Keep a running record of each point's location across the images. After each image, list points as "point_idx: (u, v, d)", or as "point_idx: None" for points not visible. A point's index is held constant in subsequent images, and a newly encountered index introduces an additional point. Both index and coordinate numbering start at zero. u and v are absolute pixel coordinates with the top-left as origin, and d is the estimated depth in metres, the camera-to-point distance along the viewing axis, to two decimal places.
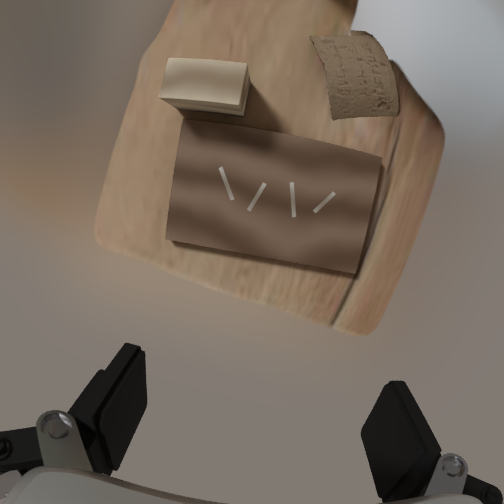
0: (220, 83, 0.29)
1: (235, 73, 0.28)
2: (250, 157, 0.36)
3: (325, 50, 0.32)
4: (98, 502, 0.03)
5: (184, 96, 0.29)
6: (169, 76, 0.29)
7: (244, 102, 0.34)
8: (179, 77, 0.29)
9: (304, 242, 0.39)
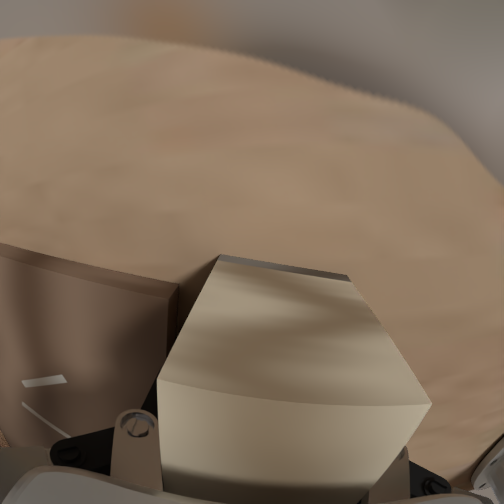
0: None
1: None
2: None
3: None
4: (98, 502, 0.03)
5: (177, 472, 0.05)
6: (306, 428, 0.05)
7: None
8: (283, 465, 0.05)
9: None
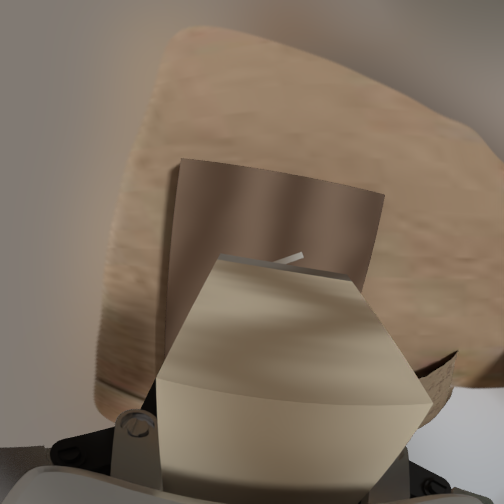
0: None
1: None
2: None
3: (440, 373, 0.26)
4: (98, 502, 0.03)
5: (177, 472, 0.05)
6: (306, 428, 0.05)
7: None
8: (283, 465, 0.05)
9: None
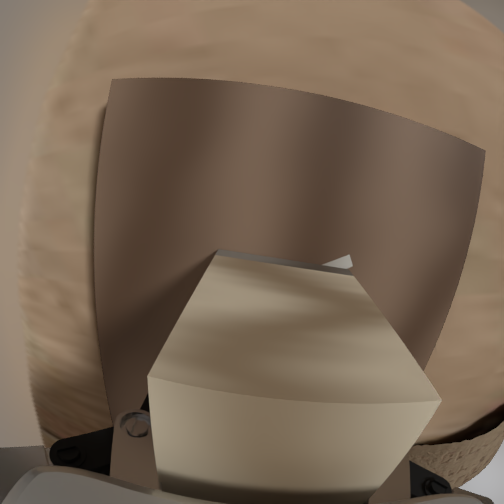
0: None
1: None
2: None
3: None
4: (98, 502, 0.03)
5: (173, 475, 0.05)
6: (308, 428, 0.04)
7: None
8: (285, 467, 0.05)
9: None
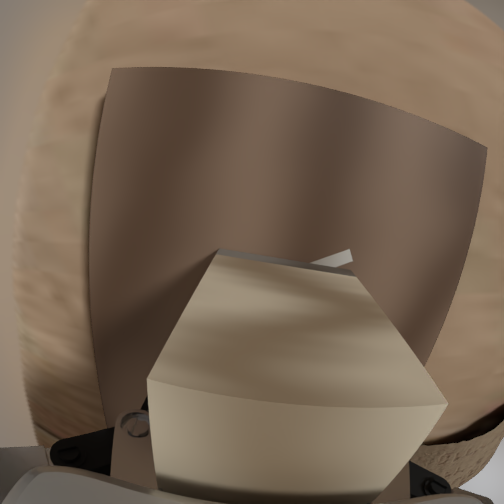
0: None
1: None
2: None
3: None
4: (98, 502, 0.03)
5: (172, 479, 0.05)
6: (313, 433, 0.04)
7: None
8: (287, 472, 0.04)
9: None
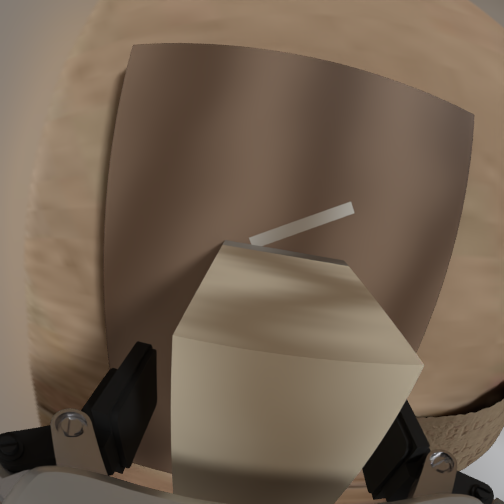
0: None
1: None
2: None
3: None
4: (98, 502, 0.03)
5: (185, 437, 0.06)
6: (308, 385, 0.05)
7: None
8: (287, 426, 0.06)
9: (158, 403, 0.15)
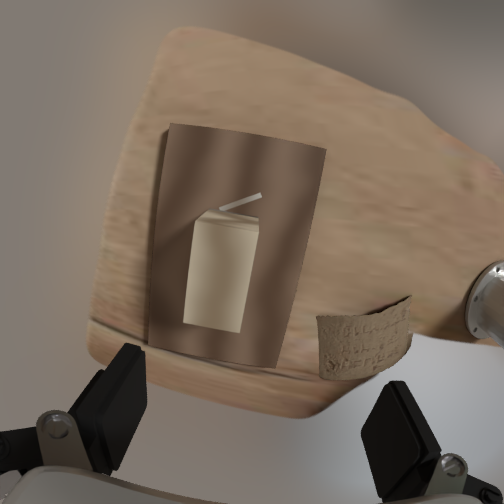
0: (211, 302, 0.25)
1: (226, 320, 0.26)
2: (272, 232, 0.31)
3: (394, 313, 0.34)
4: (98, 502, 0.03)
5: (194, 257, 0.24)
6: (227, 235, 0.24)
7: None
8: (222, 249, 0.24)
9: (174, 293, 0.33)
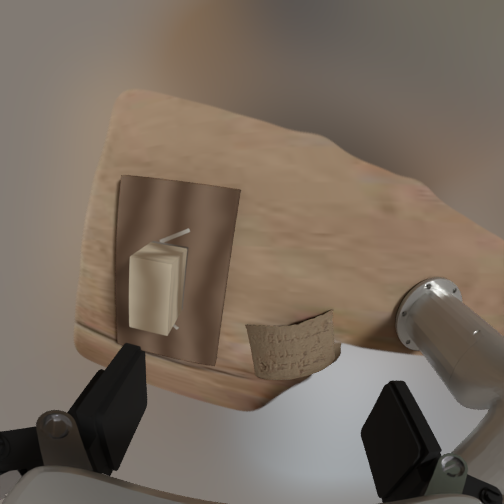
0: (145, 313, 0.33)
1: (157, 326, 0.34)
2: (199, 258, 0.39)
3: (314, 325, 0.41)
4: (98, 502, 0.03)
5: (131, 281, 0.32)
6: (151, 266, 0.32)
7: None
8: (149, 276, 0.32)
9: None
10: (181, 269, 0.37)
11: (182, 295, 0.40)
